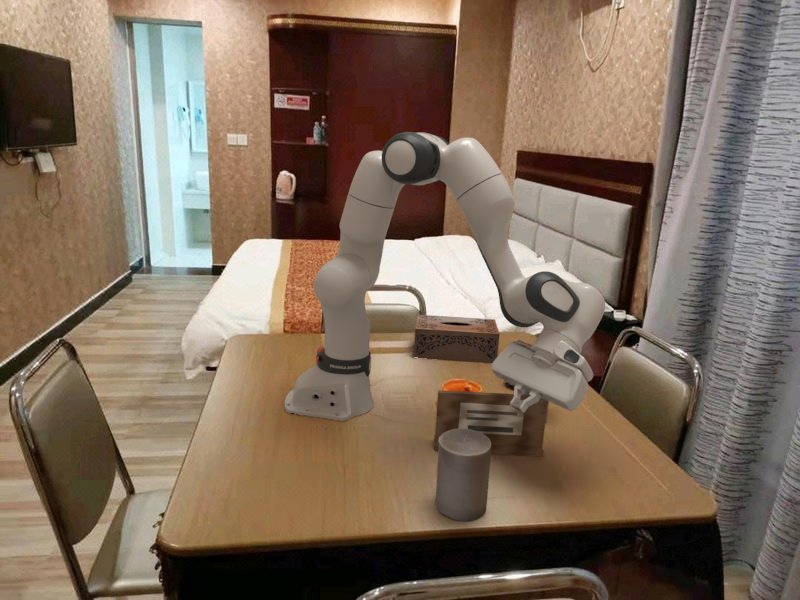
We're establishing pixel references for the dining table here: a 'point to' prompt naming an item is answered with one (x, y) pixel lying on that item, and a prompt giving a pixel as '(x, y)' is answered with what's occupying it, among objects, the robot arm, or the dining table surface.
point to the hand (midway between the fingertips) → (516, 408)
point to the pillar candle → (463, 474)
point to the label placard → (493, 420)
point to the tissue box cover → (456, 339)
